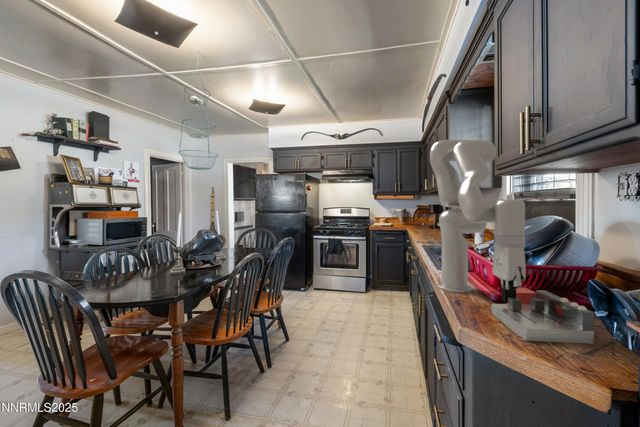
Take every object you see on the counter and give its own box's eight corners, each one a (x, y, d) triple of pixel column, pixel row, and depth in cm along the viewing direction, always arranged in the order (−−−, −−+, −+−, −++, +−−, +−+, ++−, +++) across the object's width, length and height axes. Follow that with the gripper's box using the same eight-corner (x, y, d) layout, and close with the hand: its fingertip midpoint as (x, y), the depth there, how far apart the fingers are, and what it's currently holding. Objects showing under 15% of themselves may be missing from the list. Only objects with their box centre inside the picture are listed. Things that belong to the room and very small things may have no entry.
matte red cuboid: (505, 305, 96) (506, 287, 96) (525, 305, 96) (525, 287, 95) (515, 311, 90) (516, 292, 90) (536, 312, 90) (537, 293, 89)
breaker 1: (508, 307, 85) (508, 297, 85) (516, 308, 85) (516, 297, 85) (512, 310, 83) (512, 300, 83) (521, 311, 82) (521, 300, 82)
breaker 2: (530, 308, 84) (530, 298, 84) (539, 308, 84) (539, 298, 84) (535, 311, 82) (535, 300, 82) (544, 311, 82) (544, 301, 82)
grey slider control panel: (491, 313, 89) (491, 286, 89) (544, 315, 88) (544, 287, 87) (526, 340, 71) (526, 307, 71) (593, 343, 70) (594, 308, 69)
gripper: (484, 238, 94) (484, 294, 95) (509, 244, 79) (509, 310, 80) (509, 238, 93) (509, 294, 94) (539, 244, 78) (538, 311, 79)
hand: (509, 302), depth 87 cm, fingers closed
